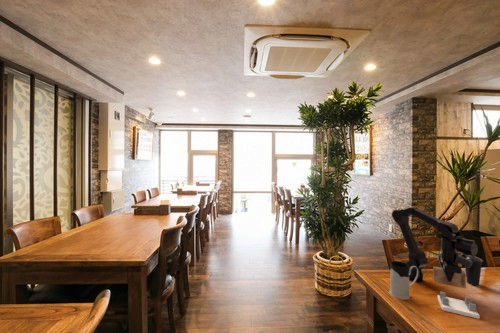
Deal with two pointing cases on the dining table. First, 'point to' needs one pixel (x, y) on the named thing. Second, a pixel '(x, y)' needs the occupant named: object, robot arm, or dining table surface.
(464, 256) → the robot arm
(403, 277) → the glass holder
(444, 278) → the door
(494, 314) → the dining table surface
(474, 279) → the drinking cup
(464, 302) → the side panel
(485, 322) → the dining table surface
